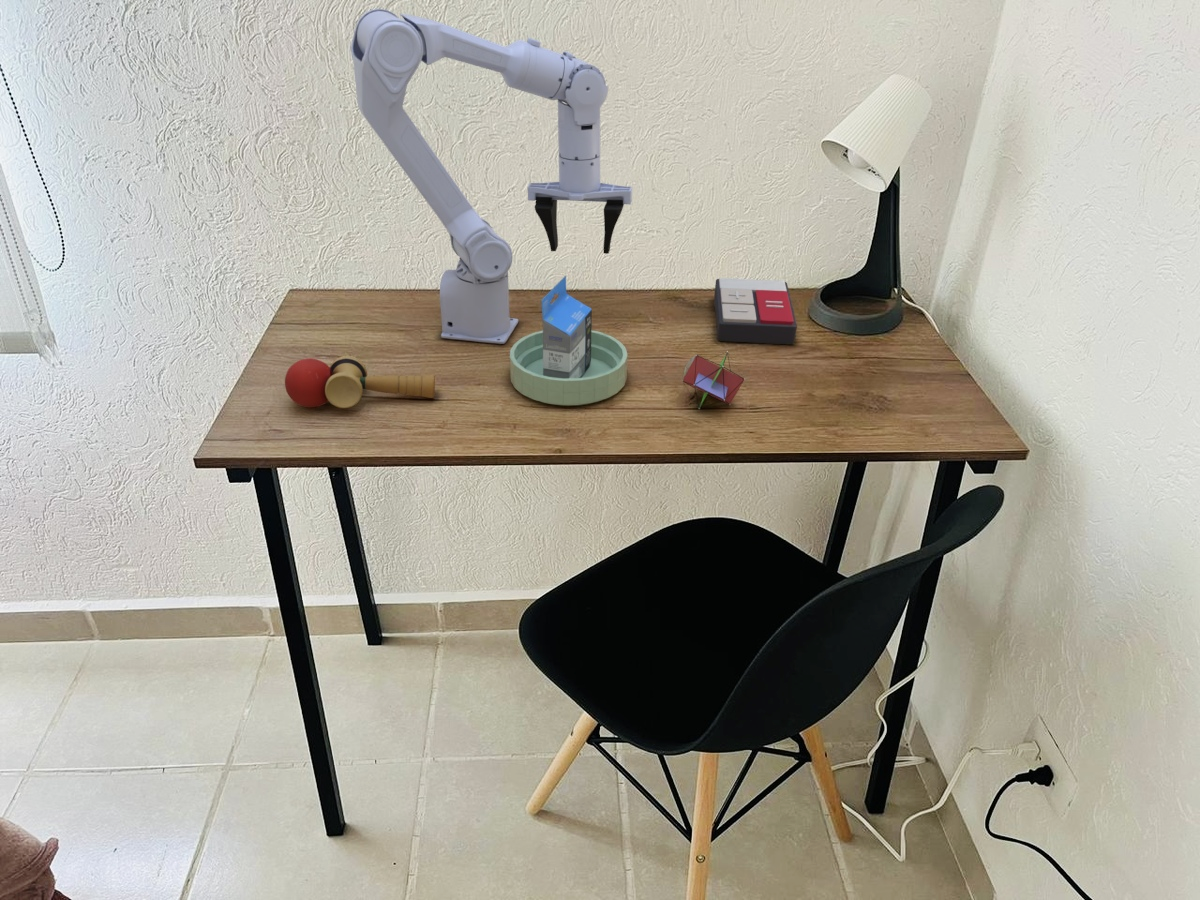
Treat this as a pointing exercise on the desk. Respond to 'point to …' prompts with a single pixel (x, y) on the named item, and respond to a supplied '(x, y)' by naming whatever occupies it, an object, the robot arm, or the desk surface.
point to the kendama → (347, 382)
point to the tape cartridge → (565, 334)
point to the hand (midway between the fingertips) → (580, 250)
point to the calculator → (754, 311)
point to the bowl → (591, 387)
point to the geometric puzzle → (712, 379)
